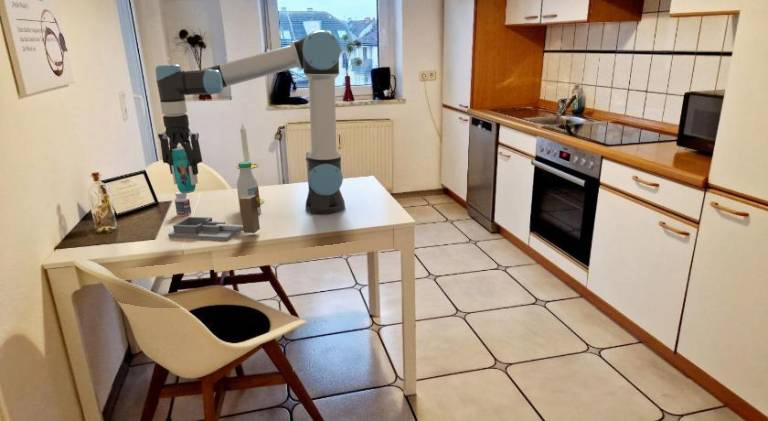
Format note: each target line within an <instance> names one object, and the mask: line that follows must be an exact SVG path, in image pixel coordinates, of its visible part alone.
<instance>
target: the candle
mask: <svg viewBox="0 0 768 421" xmlns="http://www.w3.org/2000/svg"><path fill="white" fill-rule="evenodd" d="M240 138H241V139H240V140H241V146H242V148H241V149H242V157H243V162H246V161H248V162H251V161H250V153H249V145H248V137H247V129H246V128H245V126H244V124H243V123H242V124H241V128H240ZM251 167H252V168H251V170H252V169H253V170H254V169H257V168H258V167H259V164H258V163H251ZM236 169H238V170H240V169H239V165H237V166H236ZM264 203H265V200H264V199H263V198H260V205H262V204H264Z"/></svg>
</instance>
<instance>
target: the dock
mask: <svg viewBox="0 0 768 421" xmlns="http://www.w3.org/2000/svg"><path fill="white" fill-rule="evenodd" d="M217 224H226V222H225V221H213V217H205V216H186V217H185V218H183V219H182V220H180V221H178V222H176V223H175V224H172V225H173V226H172V227H173V230H172V231H171V232H169V233H168V234H167V235H168V238H177V239H193V240H195V239H196V240H210V241H211V240H212V241H213V240H215V241H228V240H230V239H231V238H234V237H235V235H237V234H238V233H240V232H241V231H230V230H220V226H215V225H217ZM232 224H233V223H232ZM233 225H242V224H239V223H238V224H237V223H234V224H233Z"/></svg>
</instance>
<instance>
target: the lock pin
mask: <svg viewBox="0 0 768 421" xmlns="http://www.w3.org/2000/svg"><path fill="white" fill-rule="evenodd" d="M239 201H240V207H239V210H240V209H241V213H240V216H241V222H242V224H241V225H233V223H225V224H217V225H215V226H220V230H230V231H240V232H243V233H245V234H256V233H257V232H258V231H259V230H260V229H261V226H260V218H259V214H258V209H257V201H256V195H244V196H242V197H241V198H239V199H238V202H239Z"/></svg>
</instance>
